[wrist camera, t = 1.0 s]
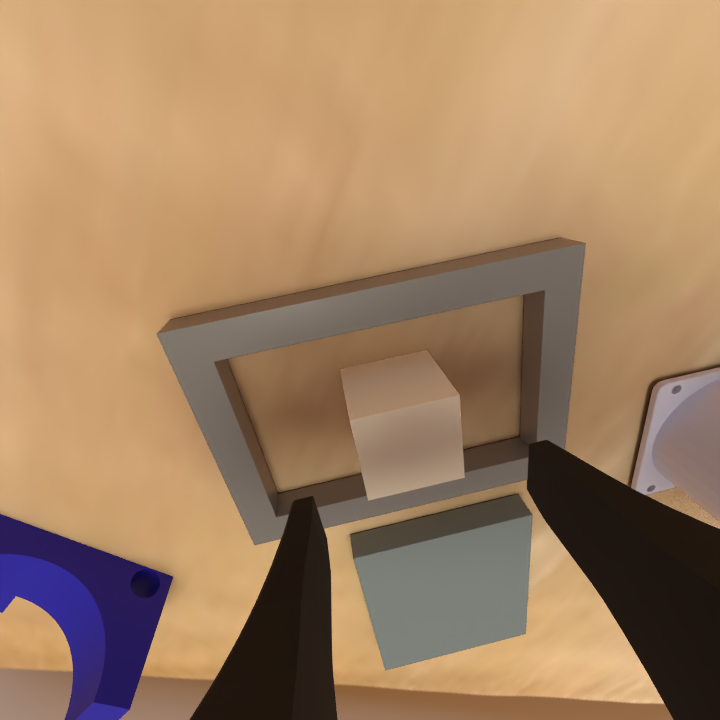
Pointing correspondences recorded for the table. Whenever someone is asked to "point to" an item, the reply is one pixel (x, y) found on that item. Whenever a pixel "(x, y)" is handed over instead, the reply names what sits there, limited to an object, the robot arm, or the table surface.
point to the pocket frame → (371, 309)
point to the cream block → (404, 423)
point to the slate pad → (446, 580)
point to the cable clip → (87, 611)
